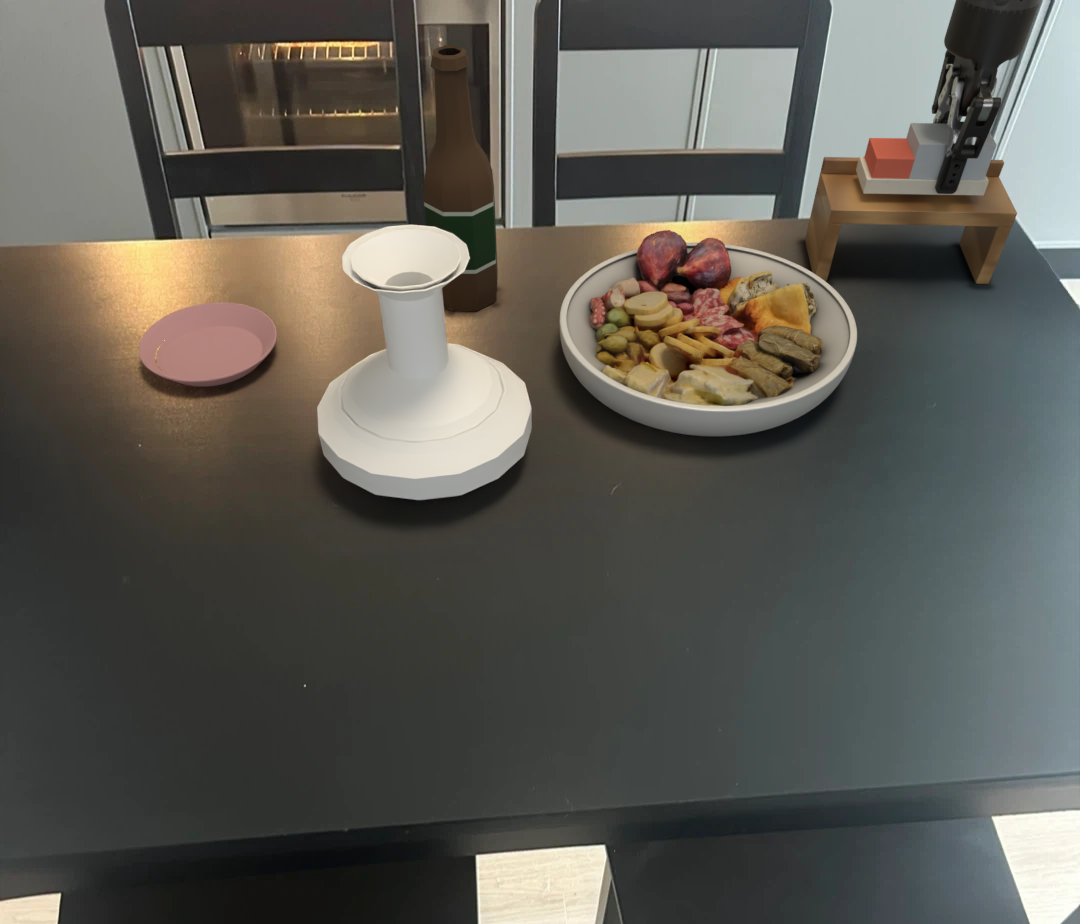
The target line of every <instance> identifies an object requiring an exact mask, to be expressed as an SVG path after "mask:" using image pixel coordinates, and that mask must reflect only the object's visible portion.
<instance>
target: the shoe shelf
mask: <svg viewBox="0 0 1080 924" xmlns="http://www.w3.org/2000/svg"><path fill="white" fill-rule="evenodd" d="M858 160H859V157H851V156H850V157H849V156H847V157H845V156H824V157H823V159H822V162H821V163H822V164H821V170H820V172H819V177H818V181H817V185H816V190H815V194H814V198H813V203H812V208H811V212H810V216H809V222H808V225H807V230H806V234H805V238H804V242H805V243H804V244H805V247H806V251H807V255H808V259H809V264H810V268H811V272H812V273H814V274H816V275H817V276H819V277H820V278H821V279H823V280H824V281H826V282H827V281H828V278H829V274H830V271H831V266H832V263H833V258H834V254H835V251H836V246H837V242H838V239H839V235H840V231H841V228H842V225H883V226H884V225H885V226H886V225H887V226H888V225H891V226H892V225H894V226H941V227H943V226H945V227H946V226H947V227H948V226H949V227H950V226H951V227H964V229H963V231H962V235H961V237H960V239H959V246H960V248H961V252H962V254H963V256H964V259H965V261H966V263H967V266H968V268H969V270H970V272H971V275H972V278H973V280H974V283H975V284H976V285H977V284H978V285H979V284H980V285H981V284H982V285H983V284H984V285H988V284H990V282H991V279H992V277H993V274H994V272H995V270H996V267H997V265H998V262H999V259H1000V257H1001V255H1002V252H1003V250H1004V247H1005V245H1006V242H1007V240H1008V237H1009V235H1010V232H1011V230H1012V227H1013V224H1014V222H1015V221H1016V218H1017V215H1018V211H1017V210H1016V208H1015V206H1014V204H1013V202H1012V200H1011V197H1010V196H1009V194H1008V192H1007V190H1006V187H1005V186H1004V184H1003V181H1002V180H1001V178H1000V176H1001V173H1002V171H1003V167H1004V165H1005V162H1004V160H1003V159H991V162H990V165H989V168H988V170H987V173H986V176H987V178H988V181H989V183H988V185H987V188H986V191H985V193H984V195H925V194H866V193H863V191H862V188H861V185H860V181H859V178H858V175H857V172H856V168H857V164H858Z"/></svg>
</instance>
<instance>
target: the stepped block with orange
mask: <svg viewBox="0 0 1080 924" xmlns="http://www.w3.org/2000/svg"><path fill="white" fill-rule="evenodd" d="M960 131H961V130H960ZM960 131H959V133H960ZM959 133H958V135H959ZM949 137H950V130H948V128H947V124H945V123H933V122H910V124H909V127H908V132H907V134H906V137H903V138H901V137H899V138H898V137H869V138H868V142H867V145H866V150H865V154H864V156H863V155H861V156H859V157H858V158H859V160H858V164H857V168H856V172H857V175H858V178H859V181H860V185H861V188H862V191H863V193H866V194H925V195H984V193H985V191H986V188H987V185H988V183H989V181H988V178H987V176H986V173H987V170H988V168H989V165H990V162H991V160H993V157H994V154H995V151H996V148H997V146H998V145H997V143H996V141H995V139H994V137H993V136H992V133H991V131H990V132H989V134H988V136H987V138H986V141H985V143H984V145H983V148H982V150H981V152H980V155H979V157H978V158H977V159H971V158H968V159H967V162H966V165H965V168H964V171H963V174H962V177H961V180H960V183H959V186H958V188H957V191H956V192H955V193H953V194H938V193H937V192H936V189H935V186H936V182H937V179H938V176H939V173H940V170H941V167H942V164H943V161H944V158H945V154H946V150H947V146H948V142H949ZM967 142H968V138H967V139H966V141H965V144H967Z"/></svg>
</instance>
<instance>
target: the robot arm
mask: <svg viewBox="0 0 1080 924" xmlns="http://www.w3.org/2000/svg"><path fill="white" fill-rule="evenodd" d="M1040 2H1041V0H955V2H954V5H953V8H952V11H951V15H950V19H949V22H948V25H947V29H946V31H945V35H944V40H943V44H944V48H945V49H946V50H945V53H944V59H943V61H942V67H941V71H940V75H939V79H938V83H937V86H936V90H935V95H934V97H933V98H934V99H933V103H932V106H931V114H932V115H934V118H933V120H932V123H945V124H947V128H948V130H950V137H949V142H948V146H947V150H946V154H945V158H944V161H943V164H942V167H941V170H940V173H939V176H938V179H937V182H936V186H935V189H936V192H937V193H938V194H953V193H955V192H956V191H957V188H958V186H959V183H960V180H961V177H962V174H963V171H964V168H965V165H966V162H967V159H968V158H971V159H977V158H978V157H979V155H980V152H981V150H982V148H983V145H984V143H985V141H986V138H987V136H988V134H989V132H990V133H991V129H992V127H993V125H994V122H995V120H996V119H997V118H996V117H997V115H998V113H999V110H1000V108H1001V106H1002V98H1001V97H998V96H997V97H996V96H995V97H994V95H995V92H996V88H997V83H998V77H997V75H998V71H999V67H1000V66H1001V65H1003V64H1004V63H1006V62H1007V61H1012V60H1013V59H1016V58H1017V57H1018V56H1019V55H1021V53H1022V52H1023V49H1024V46H1025V45H1026V41H1027V38H1028V36H1029V33H1030V30H1031V28H1032V25H1033V22H1034V19H1035V16H1036V13H1037V11H1038V8H1039V5H1040ZM963 117H964V121H963V120H962V119H963ZM961 120H962V121H961ZM960 130H961V131H960ZM959 131H960V133H959ZM958 133H959V135H958ZM967 138H968V142H967V144H965V141H966V139H967Z"/></svg>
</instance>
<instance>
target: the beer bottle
mask: <svg viewBox="0 0 1080 924" xmlns="http://www.w3.org/2000/svg"><path fill="white" fill-rule="evenodd" d="M469 65H470V59H469V55H468V51H467V49H465V48H463V47H460V46H458V45H457V44H456V45H455V44H454V45H453V44H452V45H451V44H449V45H448V44H447V45H442V46H439V47H436V48H434V49H433V50H432V55H431V61H430V67H431V68H432V69H433V73H434V94H435V95H434V97H435V98H434V100H435V102H434V103H435V131H436V132H435V142H434V144H433V146H432V147H431V149H430V152H429V154H428V157H427V162H426V165H425V166H426V168H425V171H424V176H423V207H424V215H425V226H433V227H437V228H439V229H442V230H445V231H447V232H450V233H453V234H454V235H455V236H457V237H458V238H459V239H460V240H462V241H463V242H464V243H465V244H466V245H467V248H468V252H469V256H470V259H469V261H468V264H467V266H466V268H465V271H464V272H463V273H461V274H460V275H459V276H457V277H456V278H455V279H453V280H452V281H451V282H449V283H448V284H447V285H445V286H444V287H443V288H442V294H443V304H444V308H446V309H448V310H450V311H452V312H478V311H480V310H482V309H484V308H486V307H487V306H489V305H492V304H493V303H496V301H497V297H498V249H497V224H496V223H497V221H496V201H495V200H496V199H495V197H496V196H495V184H494V183H495V182H494V175H493V168H492V166H491V164H490V161H489V158H488V156H487V154H486V152H485V151H484V149H483V148H482V147H481V145H480V143H479V142H478V141H477V137H476V134H475V128H474V125H473V115H472V107H471V98H470V87H469V80H468V72H467V71H468V70H467V68H468V67H469Z"/></svg>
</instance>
